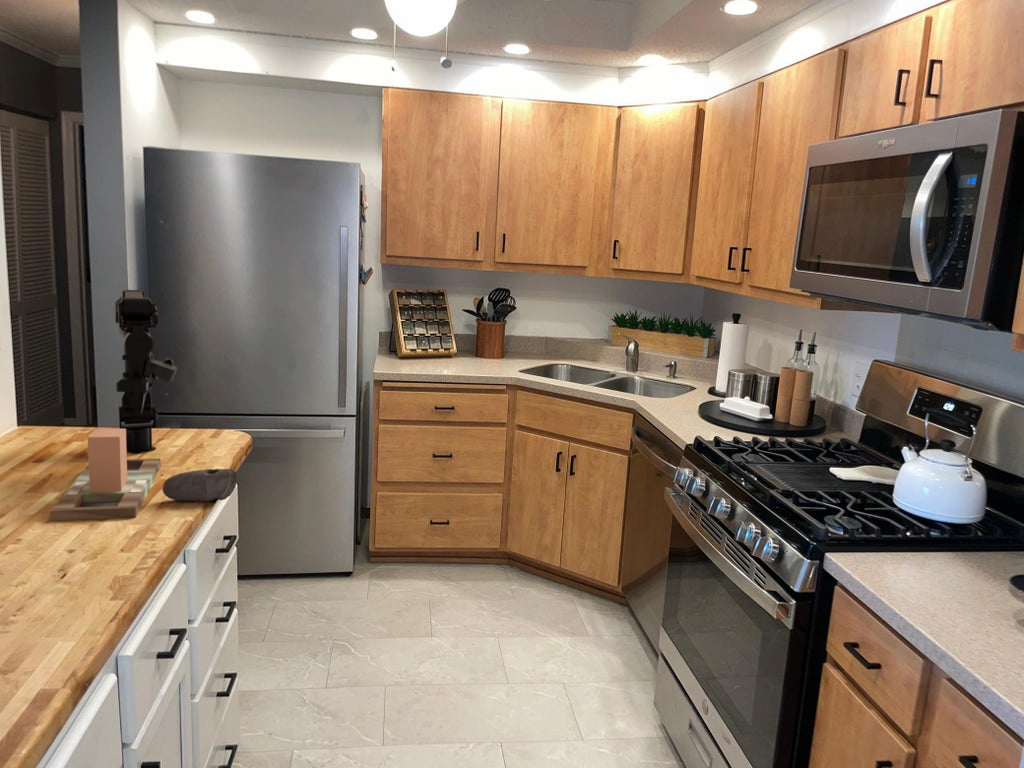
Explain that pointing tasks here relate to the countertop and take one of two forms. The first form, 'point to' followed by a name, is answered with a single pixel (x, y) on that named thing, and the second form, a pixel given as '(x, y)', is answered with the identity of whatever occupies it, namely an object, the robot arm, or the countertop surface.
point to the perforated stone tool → (201, 485)
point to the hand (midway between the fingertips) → (139, 414)
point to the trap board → (108, 495)
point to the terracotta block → (107, 460)
